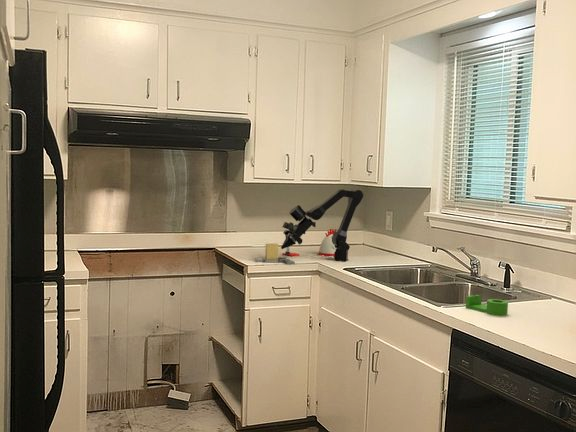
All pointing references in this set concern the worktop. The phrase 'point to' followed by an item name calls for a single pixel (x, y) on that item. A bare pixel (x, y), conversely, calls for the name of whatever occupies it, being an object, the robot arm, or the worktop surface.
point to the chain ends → (281, 260)
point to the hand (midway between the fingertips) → (281, 248)
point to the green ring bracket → (492, 305)
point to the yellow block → (271, 251)
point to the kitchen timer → (327, 245)
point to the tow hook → (289, 253)
